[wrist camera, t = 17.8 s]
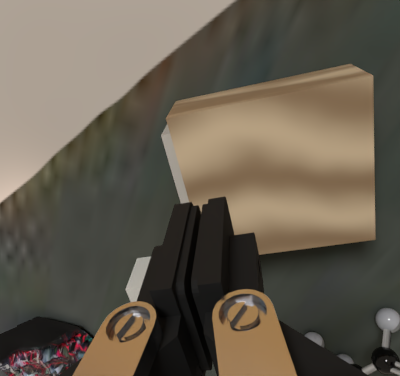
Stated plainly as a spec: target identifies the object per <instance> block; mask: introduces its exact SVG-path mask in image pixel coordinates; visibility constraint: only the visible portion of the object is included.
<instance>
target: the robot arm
mask: <svg viewBox="0 0 400 376" xmlns="http://www.w3.org/2000/svg"><path fill="white" fill-rule="evenodd" d="M212 361H213V364H214V367H215V370H216V374H217V376H368V375H367V374H365V373H364V372H362V371H361V370H359V369H357V368H356V367H354V366H352V365H351V364H349V363H348V362H346V361H344V360H343V359H341V358H340V357H338V356H336V355H335V354H333V353H331V352H330V351H328V350H327V349H325V348H323V347H322V346H320V345H318V344H317V343H315V342H314V341H312V340H310V339H309V338H307V337H305V336H304V335H302V334H301V333H299V332H297V331H296V330H294V329H292V328H291V327H289V326H288V325H286V324H284V323H283V322H281V321H279V320H278V318H277V315H276V312H275V309H274V306H273V304H272V302H271V300H270V299H269V298H268V297H267V296H266V295H265V294H264V288H263V278H262V271H261V264H260V258H259V252H258V247H257V242H256V237H255V233H254V232H253V233H246V234H239V235H234V230H233V226H232V221H231V217H230V213H229V208H228V204H227V200H226V197H218V198H212V199H208V204H203V205H202V212H201V211H200V208H199V206H198V205H196V206H193V203H192V202H188V203H181V204H175V205H174V208H173V211H172V215H171V218H170V221H169V225H168V228H167V232H166V235H165V239H164V242H163V245H161V246H156V247H154V249H153V252H152V255H151V258H150V261H149V264H148V267H147V271H146V274H145V277H144V280H143V283H142V286H141V289H140V292H139V295H138V298H137V301H136V302H130V303H127V304H124V305H122V306H120V307H118V308H117V309H115V310H114V311H113V312H111V313H110V314H109V315H108V316H107V318H106V319H105V320H104V322H103V323H102V325H101V326H100V328H99V330H98V332H97V333H96V335H95V337H94V339H93V340H92V342H91V344H90V346H89V347H88V349H87V351H86V353H85V354H84V356H83V358H81V359H80V360H79V361H77V362H76V363H74V364H73V365H72V366H70V367H69V368H68V369H66V370H65V371H64V372H62V373H61V374H60V375H58V376H205V372H206V370H211V369H212Z"/></svg>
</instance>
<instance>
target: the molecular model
mask: <svg viewBox="0 0 400 376" xmlns="http://www.w3.org/2000/svg"><path fill="white" fill-rule="evenodd" d="M375 320H376V324H377V325H378V327H379V328H380V329H381V330H383V339H382V347H379V348H376V349H375V350H374V351H373V353H372V357H371V359H372V363H371V364H369V365H367V366H365V367H363V368H362V367H361V366H359V365H357V364H355V363H354V361H353V359H352V358H351V357H350V356H348V355H346V354H338V355H337V356H338V357H340V358H341V359H343V360H344V361H346V362H348V363H349V364H351V365H352V366H354V367H356V368H357V369H359V370H361V371H362V372H364V373H365V374H367V375H369V374H371V373H373V372H375V371H377V370H378V371H379V372H380V373H382V374H386V375H391V374H396V375H399V376H400V370H398V369H399V368H400V360H399V357H398V356H397V354H396V353H395V352H394V351H393V350H392V349H390V343H391V333H394V332H397V331H398V330H399V329H400V315H399V314H398V312H396V311H395V310H393V309H391V308H382V309H380V310H379V311H378V312H377V313H376V317H375ZM304 336H305V337H307V338H309V339H310V340H312V341H314V342H315V343H317V344H318V345H320V346H322V347H323V348H325V342H324V339H323V338H322V336H321V335H319V334H318V333H316V332H308V333H306V334H305V335H304ZM325 349H326V348H325ZM328 351H329V350H328Z"/></svg>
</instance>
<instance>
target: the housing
mask: <svg viewBox="0 0 400 376" xmlns="http://www.w3.org/2000/svg"><path fill="white" fill-rule="evenodd" d="M166 121H167V124H168V128H169V131H170V135H171V139H172V142H173V146H174V149H175V153H176V157H177V160H178V164H179V167H180V171H181V174H182V178H183V182H184V185H185V189H186V192H187V196H188V200H189V202H192V203H193V206H196V205H198V206H199V208H200V211H201V212H202V205H203V204H208V199H212V198H218V197H226V200H227V204H228V208H229V213H230V217H231V221H232V226H233V230H234V235H239V234H246V233H253V232H254V233H255V237H256V242H257V247H258V252H259V255H261V254H269V253H277V252H284V251H292V250H300V249H308V248H315V247H323V246H331V245H338V244H346V243H354V242H361V241H369V240H375V176H374V103H373V75H371V74H369V73H367V72H365V71H363V70H361V69H360V68H358V67H356V66H354V65H352V64H347V65H342V66H337V67H333V68H328V69H324V70H319V71H314V72H310V73H305V74H300V75H296V76H291V77H286V78H282V79H277V80H272V81H268V82H263V83H258V84H254V85H249V86H244V87H240V88H235V89H230V90H226V91H221V92H216V93H212V94H207V95H202V96H198V97H193V98H188V99H184V100H179V101H176V102H175V104H174V105H173V107H172V109H171V111H170V112H169V114H168V116H167V117H166Z"/></svg>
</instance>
